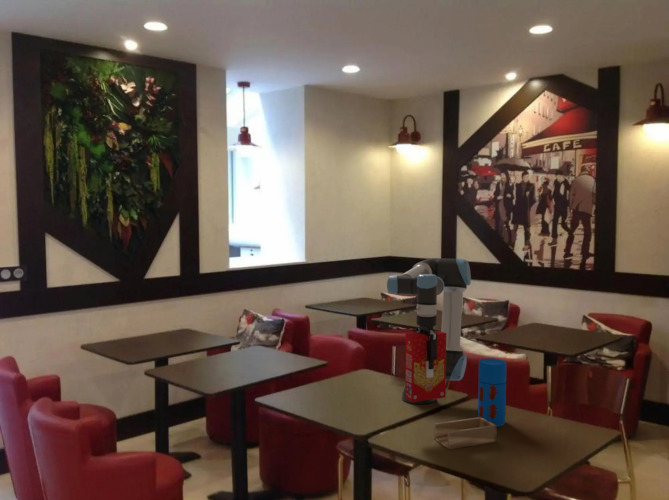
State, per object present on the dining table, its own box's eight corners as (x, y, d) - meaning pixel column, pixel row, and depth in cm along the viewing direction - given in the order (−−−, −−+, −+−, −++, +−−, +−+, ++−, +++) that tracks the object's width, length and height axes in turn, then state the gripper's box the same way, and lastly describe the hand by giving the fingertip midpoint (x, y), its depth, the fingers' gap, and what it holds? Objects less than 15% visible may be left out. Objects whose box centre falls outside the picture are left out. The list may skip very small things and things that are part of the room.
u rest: (434, 439, 229) (434, 423, 228) (480, 432, 236) (480, 416, 236) (449, 449, 219) (449, 433, 219) (496, 441, 226) (496, 425, 226)
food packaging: (412, 402, 228) (412, 336, 226) (405, 398, 233) (405, 333, 231) (445, 397, 234) (446, 333, 232) (437, 393, 238) (438, 330, 237)
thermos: (506, 427, 241) (507, 365, 239) (478, 425, 243) (479, 364, 241) (504, 418, 252) (505, 358, 250) (477, 416, 254) (478, 357, 252)
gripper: (406, 311, 239) (406, 370, 240) (429, 319, 221) (428, 382, 223) (424, 310, 241) (423, 368, 242) (447, 318, 224) (446, 380, 225)
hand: (425, 375), depth 233 cm, fingers closed on food packaging, 5 cm apart
